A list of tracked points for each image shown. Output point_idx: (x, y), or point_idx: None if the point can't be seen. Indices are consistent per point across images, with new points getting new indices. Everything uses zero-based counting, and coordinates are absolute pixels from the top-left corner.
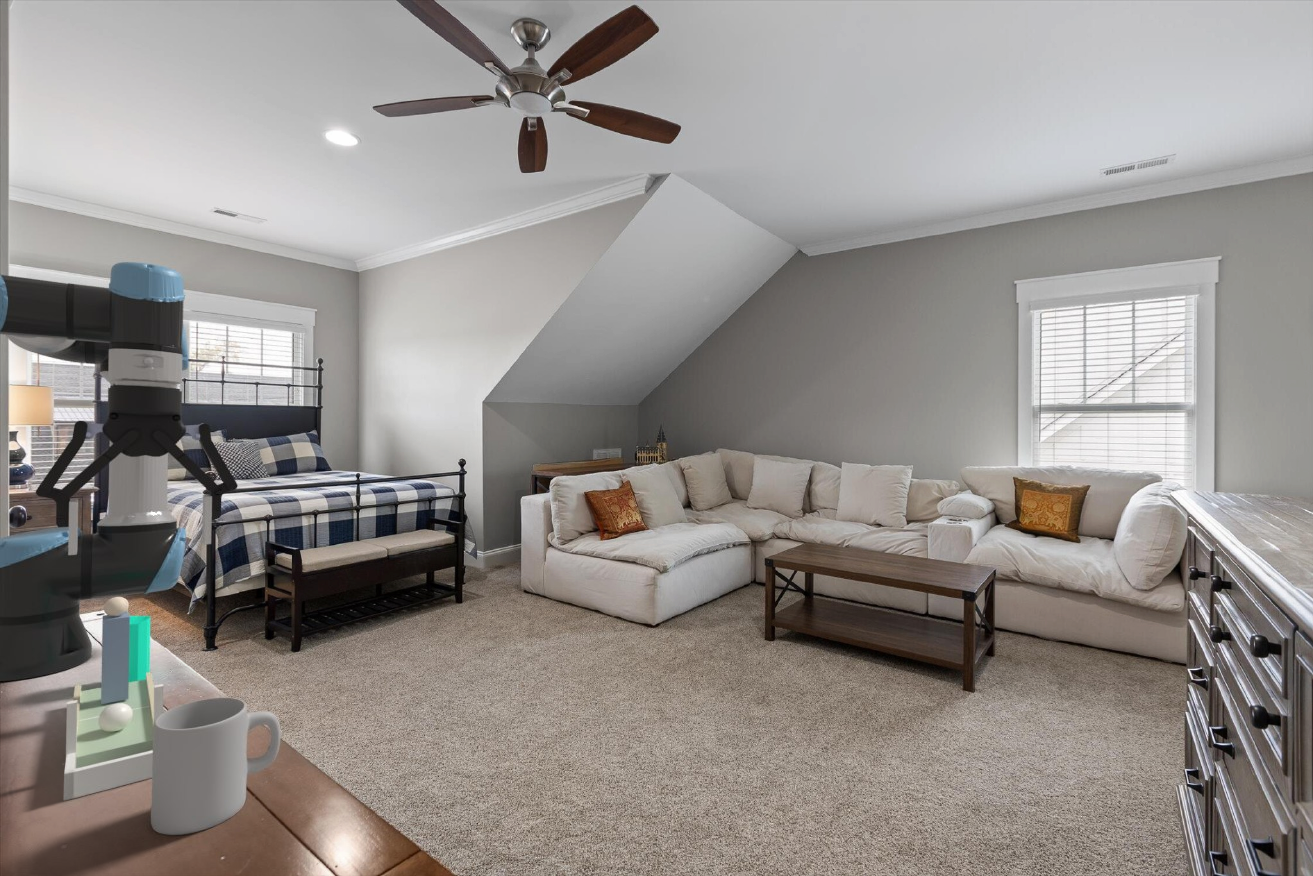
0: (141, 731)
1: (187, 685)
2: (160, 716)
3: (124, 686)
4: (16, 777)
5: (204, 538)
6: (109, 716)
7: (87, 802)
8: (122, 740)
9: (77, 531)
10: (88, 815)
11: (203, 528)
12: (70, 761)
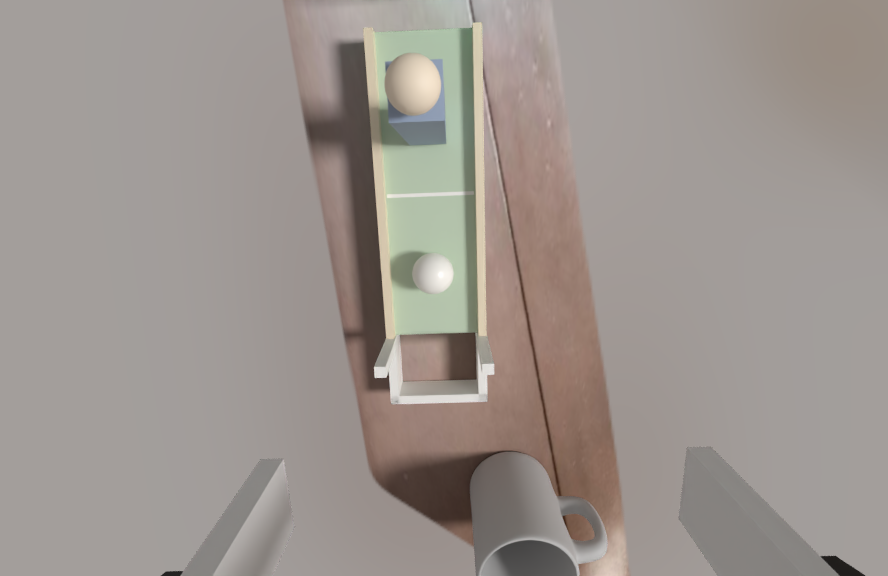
0: (463, 294)
1: (535, 42)
2: (484, 562)
3: (440, 141)
4: (341, 295)
5: (692, 538)
6: (425, 292)
7: (416, 405)
8: (442, 311)
9: (248, 536)
10: (419, 432)
11: (722, 533)
12: (393, 372)
